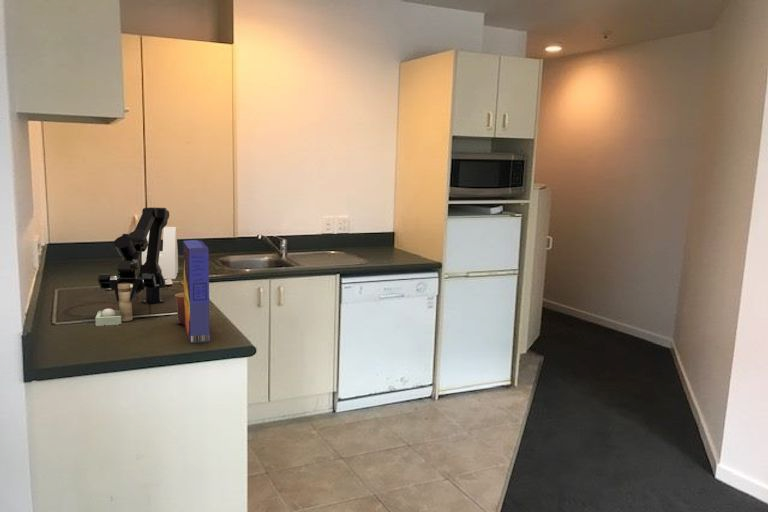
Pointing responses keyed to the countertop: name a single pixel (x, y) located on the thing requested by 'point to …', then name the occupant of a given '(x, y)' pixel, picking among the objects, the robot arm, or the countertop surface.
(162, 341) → the countertop surface
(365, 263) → the countertop surface
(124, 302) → the player peg
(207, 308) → the cereal box
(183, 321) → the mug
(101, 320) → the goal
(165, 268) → the milk carton
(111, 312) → the ball
